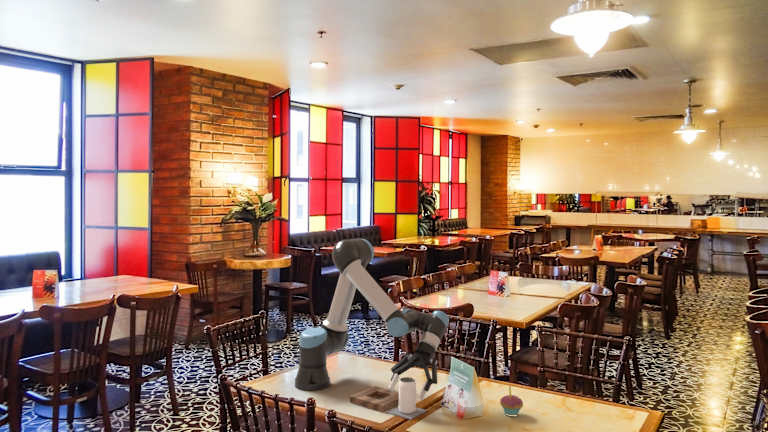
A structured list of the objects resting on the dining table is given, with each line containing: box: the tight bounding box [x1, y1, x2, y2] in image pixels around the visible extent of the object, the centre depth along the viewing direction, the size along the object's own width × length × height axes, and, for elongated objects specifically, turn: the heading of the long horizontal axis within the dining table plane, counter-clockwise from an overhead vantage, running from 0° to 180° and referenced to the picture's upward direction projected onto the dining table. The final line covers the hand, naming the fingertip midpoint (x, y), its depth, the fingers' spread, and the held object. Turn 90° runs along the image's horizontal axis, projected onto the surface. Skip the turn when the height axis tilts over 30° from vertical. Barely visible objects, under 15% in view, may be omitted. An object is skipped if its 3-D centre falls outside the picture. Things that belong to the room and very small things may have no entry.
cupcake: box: [499, 385, 524, 415], centre depth 216 cm, size 9×8×12 cm
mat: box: [386, 405, 428, 421], centre depth 217 cm, size 11×11×1 cm
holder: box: [349, 385, 399, 413], centre depth 227 cm, size 16×16×2 cm
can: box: [398, 376, 417, 414], centre depth 217 cm, size 6×6×12 cm
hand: (404, 393), depth 215 cm, fingers open, 13 cm apart
